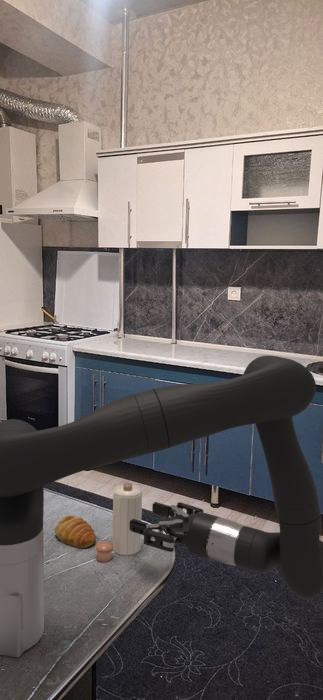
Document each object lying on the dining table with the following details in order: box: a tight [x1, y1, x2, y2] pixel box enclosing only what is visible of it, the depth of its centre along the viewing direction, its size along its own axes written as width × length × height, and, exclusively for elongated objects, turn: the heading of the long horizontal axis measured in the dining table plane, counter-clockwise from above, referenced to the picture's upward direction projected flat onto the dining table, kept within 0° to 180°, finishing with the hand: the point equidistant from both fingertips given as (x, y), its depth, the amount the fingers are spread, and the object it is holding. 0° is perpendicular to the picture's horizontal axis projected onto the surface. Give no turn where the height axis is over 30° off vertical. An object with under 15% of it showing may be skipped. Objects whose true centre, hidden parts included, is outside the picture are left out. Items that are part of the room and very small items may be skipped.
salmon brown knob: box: [95, 540, 113, 563], centre depth 98 cm, size 3×3×3 cm
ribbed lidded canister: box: [111, 482, 143, 556], centre depth 101 cm, size 6×6×14 cm
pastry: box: [54, 515, 97, 549], centre depth 104 cm, size 9×7×4 cm
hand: (142, 515), depth 99 cm, fingers open, 8 cm apart
